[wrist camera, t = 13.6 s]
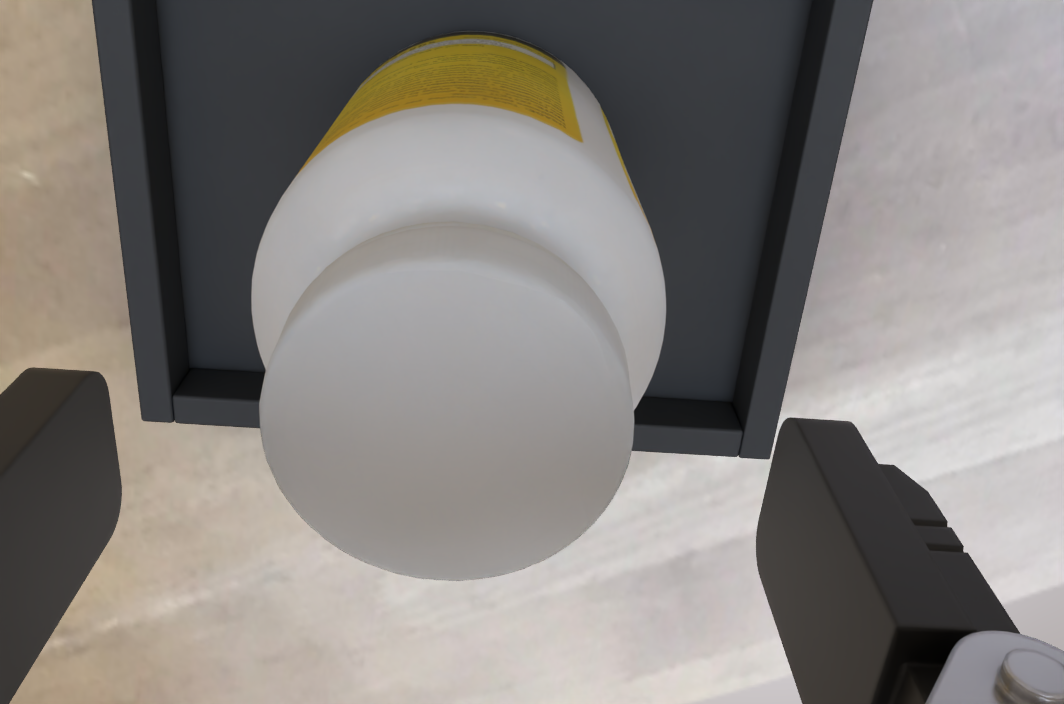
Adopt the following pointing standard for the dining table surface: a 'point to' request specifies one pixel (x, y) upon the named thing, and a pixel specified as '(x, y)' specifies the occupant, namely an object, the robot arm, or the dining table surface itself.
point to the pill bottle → (457, 314)
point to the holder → (629, 105)
